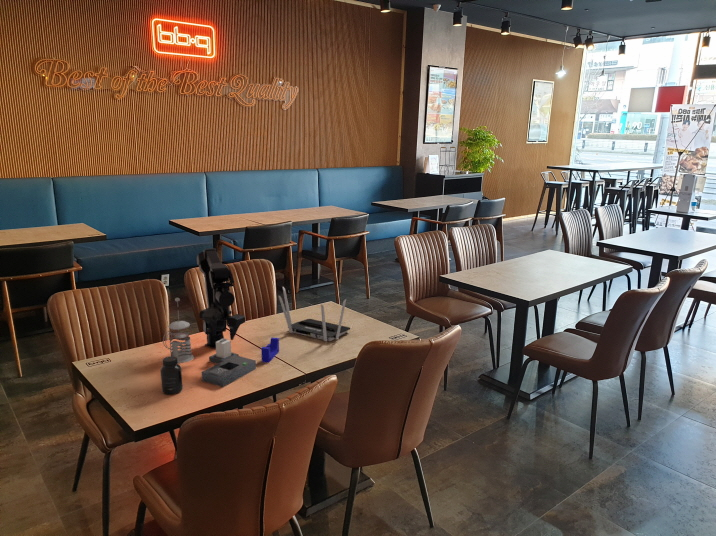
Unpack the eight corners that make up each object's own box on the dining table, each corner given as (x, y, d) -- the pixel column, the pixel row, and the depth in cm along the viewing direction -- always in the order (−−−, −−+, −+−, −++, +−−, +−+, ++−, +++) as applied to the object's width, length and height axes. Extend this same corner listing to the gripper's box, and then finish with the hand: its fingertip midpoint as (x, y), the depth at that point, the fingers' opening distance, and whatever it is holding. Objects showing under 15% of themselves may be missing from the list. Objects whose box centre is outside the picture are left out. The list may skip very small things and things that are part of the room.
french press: (199, 358, 220) (195, 297, 214) (172, 366, 212) (168, 304, 206) (185, 351, 226) (182, 292, 220) (159, 359, 218) (154, 298, 212)
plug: (216, 361, 218) (215, 340, 215) (223, 357, 221) (222, 337, 219) (224, 363, 216) (223, 342, 214) (231, 359, 219) (230, 339, 217)
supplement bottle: (164, 386, 195) (162, 354, 192) (184, 386, 196) (182, 354, 193) (159, 395, 189) (157, 362, 186) (180, 395, 189) (178, 362, 186)
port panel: (202, 380, 200) (201, 370, 199) (235, 363, 215) (235, 354, 215) (222, 387, 195) (222, 377, 195) (255, 369, 211) (255, 359, 210)
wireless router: (361, 334, 248) (362, 291, 244) (332, 351, 229) (333, 304, 224) (300, 320, 265) (300, 280, 260) (269, 335, 246) (268, 291, 241)
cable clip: (268, 350, 229) (268, 337, 228) (279, 351, 228) (278, 338, 227) (258, 362, 217) (257, 347, 216) (269, 363, 217) (268, 348, 215)
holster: (209, 361, 217) (208, 356, 216) (223, 354, 224) (223, 350, 223) (224, 366, 213) (224, 361, 213) (238, 358, 220) (238, 354, 219)
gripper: (187, 300, 210) (190, 339, 214) (225, 309, 201) (226, 349, 205) (208, 293, 219) (210, 330, 223) (245, 301, 211) (246, 339, 214)
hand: (222, 337), depth 216 cm, fingers open, 9 cm apart
